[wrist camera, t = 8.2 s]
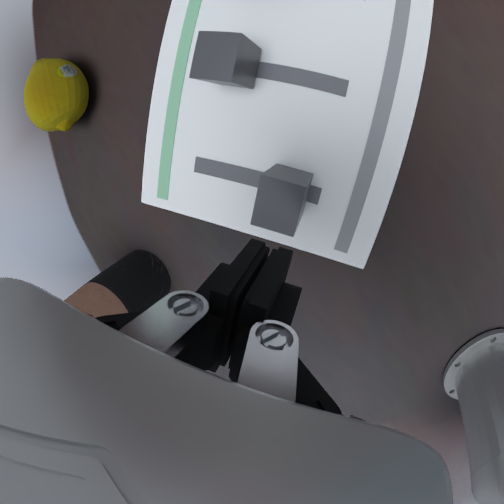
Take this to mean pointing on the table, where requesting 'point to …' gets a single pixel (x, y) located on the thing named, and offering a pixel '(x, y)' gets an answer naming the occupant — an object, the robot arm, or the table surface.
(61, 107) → the lemon
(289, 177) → the block
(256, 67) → the block
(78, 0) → the table surface
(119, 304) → the travel mug
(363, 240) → the breaker panel
